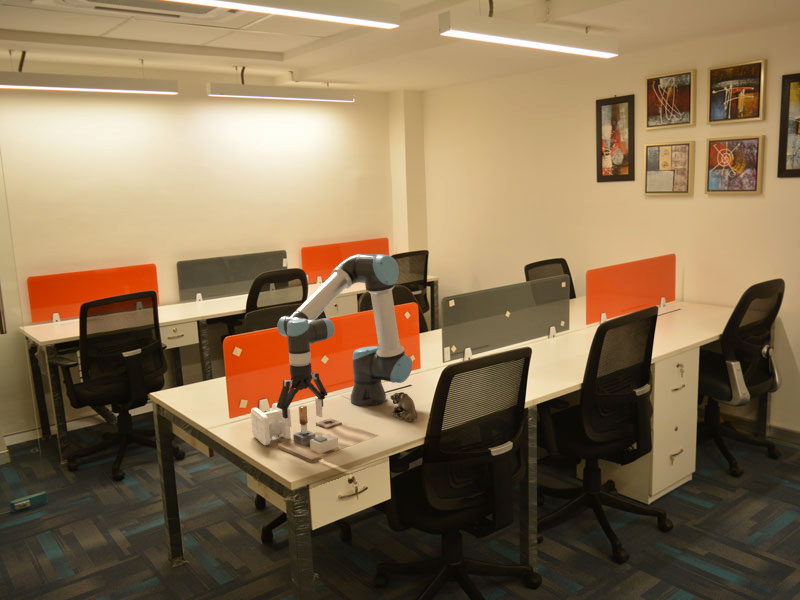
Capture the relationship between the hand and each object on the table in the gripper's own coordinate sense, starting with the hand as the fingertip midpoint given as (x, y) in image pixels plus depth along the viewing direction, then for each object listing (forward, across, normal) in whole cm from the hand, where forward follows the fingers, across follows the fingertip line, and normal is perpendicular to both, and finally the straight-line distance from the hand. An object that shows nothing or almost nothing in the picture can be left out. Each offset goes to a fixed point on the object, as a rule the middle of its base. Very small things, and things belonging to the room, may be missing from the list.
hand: (304, 421), depth 245 cm
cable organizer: (+9, +5, -14) cm, 17 cm away
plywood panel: (+9, -7, +5) cm, 12 cm away
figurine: (+10, -44, +6) cm, 45 cm away
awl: (+8, 0, 0) cm, 8 cm away
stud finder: (+8, -1, +10) cm, 13 cm away
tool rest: (+9, -17, -8) cm, 20 cm away
